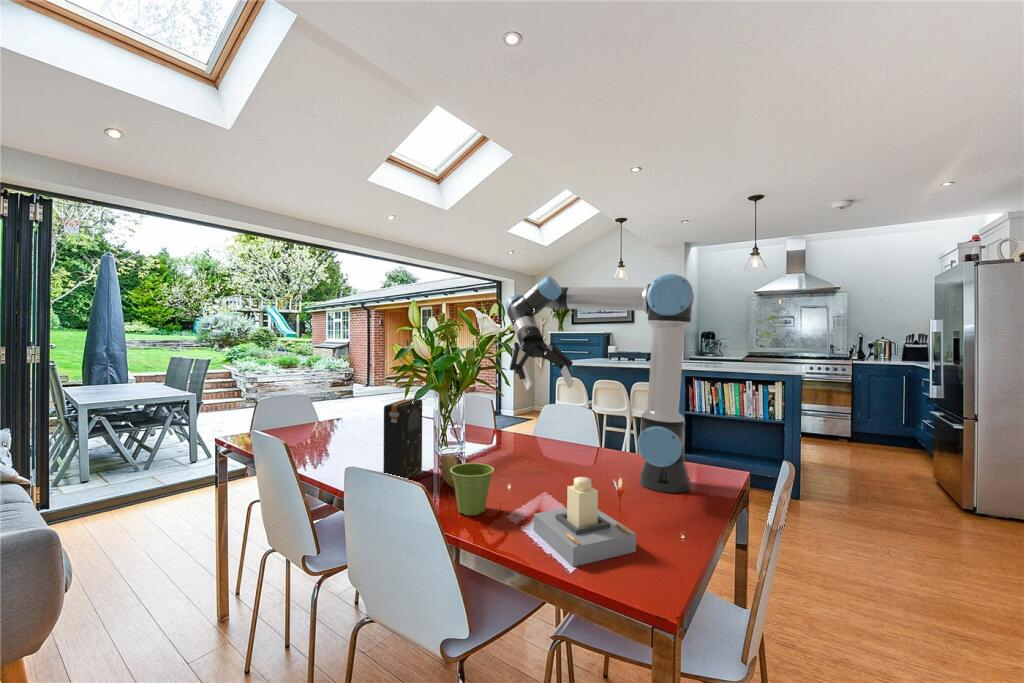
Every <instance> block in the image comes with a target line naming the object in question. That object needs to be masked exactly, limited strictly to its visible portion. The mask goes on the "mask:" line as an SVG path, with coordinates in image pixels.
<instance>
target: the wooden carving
mask: <svg viewBox="0 0 1024 683" xmlns="http://www.w3.org/2000/svg"><path fill="white" fill-rule="evenodd" d="M440 463H441V464H439V465H438V468H439V470H441V473H440V476H441V478H442V479H443V481H445V482H444V483H446V484H447V485H448V486H449V487H451V488H453V489H455V484H454V481H453V476H452V473H451V472H450V469H451V468H452V467H453V466H456V465H460V464H463V461H462V459H460V458H459V457H458V456H457V455H456V454H454V453H453V454H452V453H445V454H442V455H441V456H440Z"/></svg>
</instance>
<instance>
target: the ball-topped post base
mask: <svg viewBox="0 0 1024 683" xmlns="http://www.w3.org/2000/svg"><path fill="white" fill-rule="evenodd" d="M533 531H534V532H535V533H536V534H537V535H538V536H539V537H540V538H541V539H542V540H543V541H545V543H547V544H548V545H549V546H550V547H551V548H552V549H553V550H554V551H555V552H556V553H558V554H559V556H561V557H562V558H563V559H564V560H565V561H566V562H567V563H568V564H570V566H571V567H572V568H574V566H575V567H577V566H578V565H579V566H582V565H587V564H590V563H595V562H600V561H603V560H607V559H611V558H615V557H620V556H624V555H628V554H633V553H635V552H637V533H636V532H634V531H633V530H631V529H630V528H628V527H627V526H625V525H623V524H622V523H620V522H618V520H615V519H614V518H612V517H611V516H609V515H608V514H606V513H605V512H602V510H600V509H598V524H594V525H589V526H584V527H579V528H577V527H576V526H575V525H573V524H572V523H571V522H569V521H568V520H567V507H566V508H560V509H554V510H548V511H543V512H537V513H533ZM579 566H578V567H579Z"/></svg>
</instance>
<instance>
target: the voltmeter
mask: <svg viewBox="0 0 1024 683" xmlns="http://www.w3.org/2000/svg"><path fill="white" fill-rule="evenodd" d="M414 399H415V400H416V399H417V398H409V399H405V398H404V399H401V400H397V401H395V402H391V403H389V404H385V405H384V407H383V466H382V467H383V471H382V472H383V473H388V474H392V475H396V476H400V477H403V478H408V480H410V479H411V478H412V477H414V476H415V475H416V474H418V473H419V472H421V471H422V470H423V469H422V468H423V400H422V399H421V398H420V399H419V400H418V399H417V400H416V401H415V402H414V404H412V401H413V400H414ZM417 472H418V473H417ZM414 474H415V475H414ZM413 475H414V476H413Z"/></svg>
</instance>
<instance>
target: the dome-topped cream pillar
mask: <svg viewBox="0 0 1024 683" xmlns="http://www.w3.org/2000/svg"><path fill="white" fill-rule="evenodd" d="M566 492H567V496H566V497H567V502H566V508H567V520H568V521H569V522H571V523H572V524H573V525H575V526H576V527H577V528H579V527H584V526H589V525H594V524H598V510H599V507H598V506H599V505H598V504H599V490H598V489H596V488H594V487H593V486H592V479H591V478H589V477H586V476H577V477H574V478H573V485H568V486H567V491H566Z"/></svg>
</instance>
